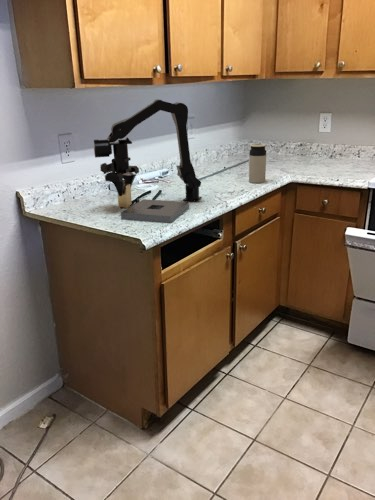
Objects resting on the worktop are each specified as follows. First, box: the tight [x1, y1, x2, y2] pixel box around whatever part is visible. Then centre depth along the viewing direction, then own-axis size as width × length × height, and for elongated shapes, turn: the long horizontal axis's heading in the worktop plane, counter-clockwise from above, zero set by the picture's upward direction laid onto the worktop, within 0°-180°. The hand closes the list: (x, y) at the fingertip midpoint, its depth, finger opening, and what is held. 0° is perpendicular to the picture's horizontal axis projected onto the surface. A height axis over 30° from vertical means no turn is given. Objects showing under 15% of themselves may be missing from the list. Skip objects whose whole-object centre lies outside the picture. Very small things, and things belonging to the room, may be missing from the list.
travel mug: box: [248, 143, 267, 184], centre depth 214 cm, size 8×8×18 cm
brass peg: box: [117, 184, 133, 209], centre depth 181 cm, size 4×4×9 cm
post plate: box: [120, 198, 190, 224], centre depth 171 cm, size 20×20×2 cm
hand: (124, 194), depth 181 cm, fingers open, 6 cm apart
